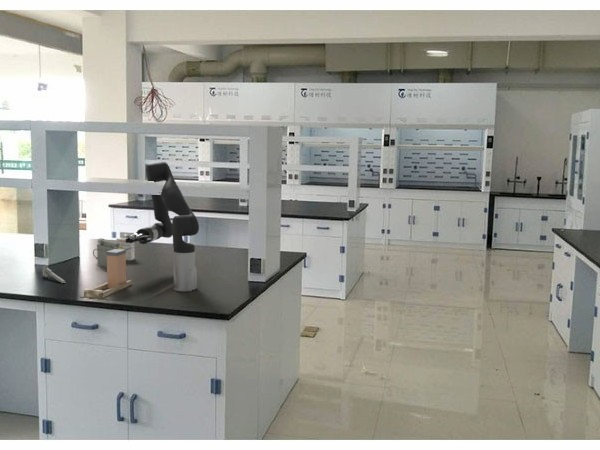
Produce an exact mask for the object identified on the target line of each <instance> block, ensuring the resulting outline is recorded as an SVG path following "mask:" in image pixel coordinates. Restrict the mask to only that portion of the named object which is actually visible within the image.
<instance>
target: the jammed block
mask: <svg viewBox="0 0 600 450" xmlns="http://www.w3.org/2000/svg"><path fill="white" fill-rule="evenodd" d="M106 255H107V267H106V268H107V269H106V275H107V277H106V278H107V282H108V288H107V289H110V288H112V287H115V286H117V285H119V284H122V283H124V282H126V281H127V260H126V250H124V249H113V250H110V251H107V252H106ZM107 282H106V283H107Z"/></svg>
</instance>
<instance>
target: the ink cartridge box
mask: <svg viewBox="0 0 600 450" xmlns="http://www.w3.org/2000/svg"><path fill="white" fill-rule="evenodd" d="M126 234H129V235H130V236H132V235H133V234H135V232H124V231H120V232H119V237H118V238H116V243H119V244H120V246H119V247H118V248H121V249H124V250H126V261H133V260H134V259H135V242H134V243H126Z"/></svg>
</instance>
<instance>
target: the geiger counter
mask: <svg viewBox="0 0 600 450" xmlns="http://www.w3.org/2000/svg"><path fill="white" fill-rule="evenodd" d="M97 243H98V244H96V248H95V249H93V251H92V254H93V255H92V256H93V257H94V259H96V260H97V262H96V263H97V265H98V266H102V267H105V268H107V255H106V252H107V251H110V250H113V249H121V248H118V247H119V246H120V244H119V243H117V241H116V242H115V241H111V240H107V239H105V238H101V237H100V238H98V240H97ZM95 251H96V253H97V254H96V255H97V256H96V255H95Z"/></svg>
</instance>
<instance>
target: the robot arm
mask: <svg viewBox="0 0 600 450" xmlns="http://www.w3.org/2000/svg"><path fill="white" fill-rule="evenodd" d="M145 173H146V179H147V182H148V181H154V182H155V183H160V182H165V183H164V185H163V187H162V189H161V191H162V192H160V194H161V195H151V194H150V195H151V199H152V200H151V201H152V204H153V205H152V206H153V215H154V220H156V221H157V222H156V223H153V224H152V225H151V226H147V227H142V228H140V229H138V230H137V231H136V232H134V234H133V235H132V236H130V235H129V234H125V235H126V243H134V244H135V243H139V244H141V245H146V244H150V243H152V242H155V241H157V240H160V238H166V239H169V238H171V237H172V247H173V290H174V291H176V292H193V291H195V290H196V289H197V288H198V287H197V282H198V281H197V280H198V279H197V278H198V277H197V274H198V273H197V271H198V270H197V267H196V265H195V264H196V260H195V259H196V256H195V255H196V252H195V250H196V247H195V245H194V244H193V243H191V242H187V241H184V240H183V237H189V236H190V237H191V236H195V235H197V234H198V233H199V229H200V224H199V220H198V218H197V217H196V215H195V213H194V212H193V210H192V209H191V208H190V206H189V205H188V203H187V201H186V199H185V197H184V195H183V193H182V191H181V190H180V188H179V186H178V184H177V183H176V181H175V179H174V176H173V173H172V171H171V168H170V166H169V164H168V163H167V162H165V161H159V162H152V163H148V164H147V165H146V167H145ZM169 211H171V212H172V213H174V214H176V215H175V216H174V217H173V218H172V220H171V218H170V215H169ZM192 290H193V291H192Z"/></svg>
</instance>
